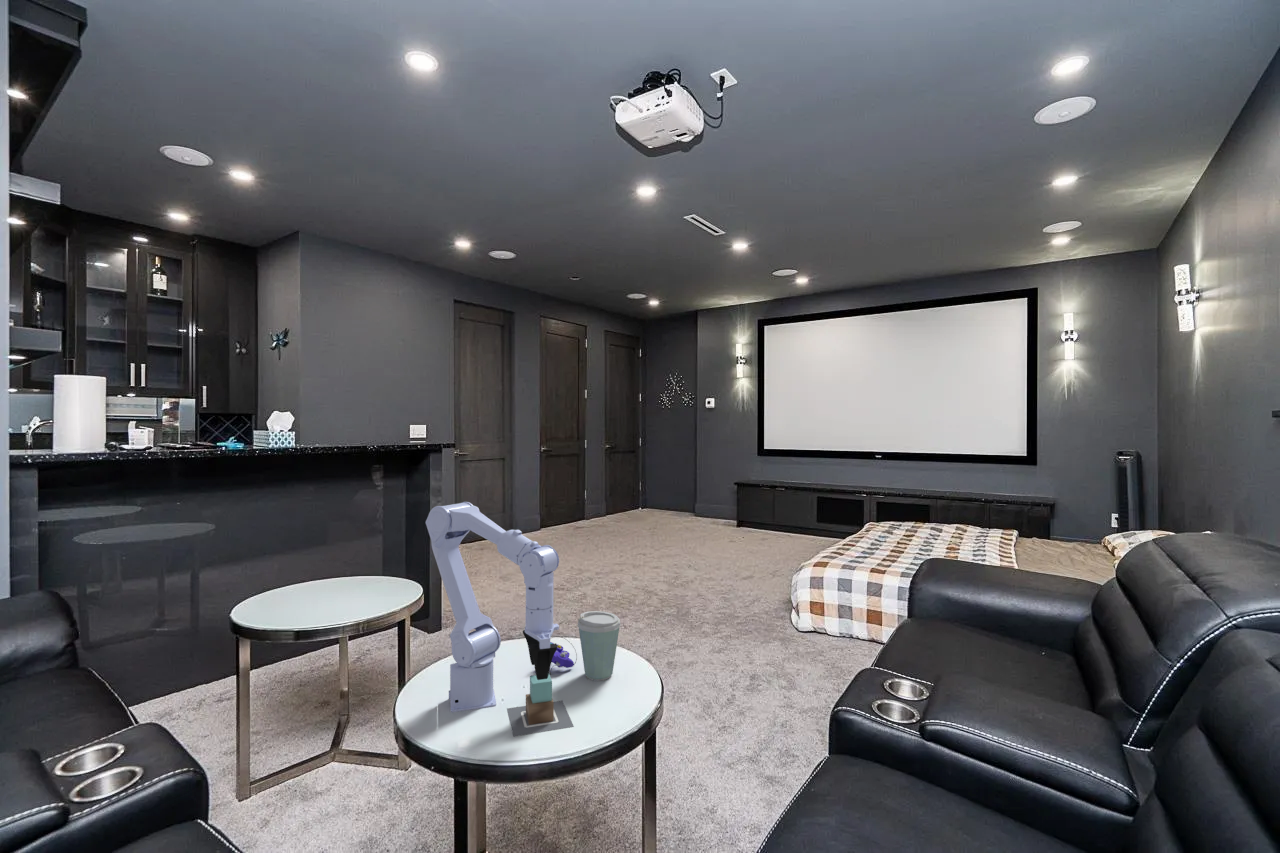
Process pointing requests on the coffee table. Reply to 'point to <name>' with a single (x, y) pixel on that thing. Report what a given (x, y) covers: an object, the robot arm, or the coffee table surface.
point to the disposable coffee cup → (598, 643)
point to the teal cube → (540, 689)
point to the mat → (523, 727)
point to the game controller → (562, 657)
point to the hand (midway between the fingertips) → (539, 671)
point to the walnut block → (539, 711)
